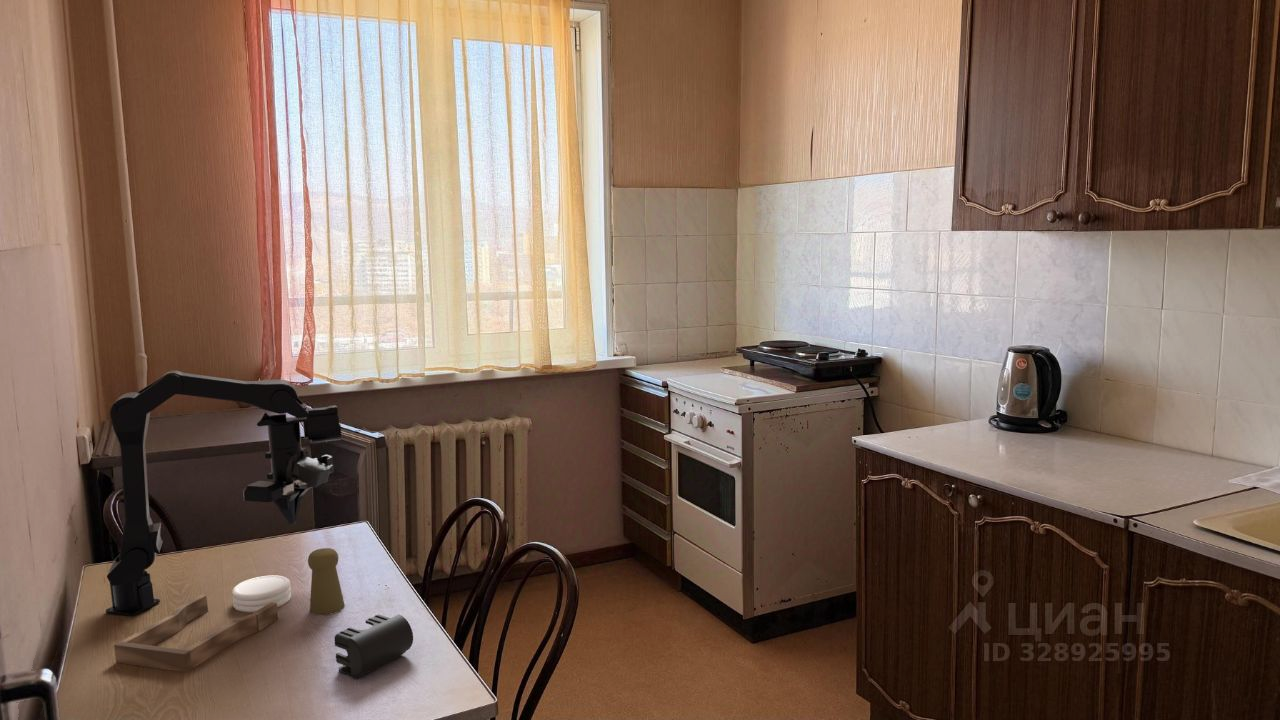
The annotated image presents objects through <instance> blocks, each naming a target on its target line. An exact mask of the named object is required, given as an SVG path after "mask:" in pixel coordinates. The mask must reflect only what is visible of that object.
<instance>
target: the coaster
mask: <svg viewBox="0 0 1280 720" xmlns="http://www.w3.org/2000/svg"><path fill="white" fill-rule="evenodd" d="M291 591H292V588H291V581H290V579H289V578H287V577H286V576H283V575H276V574H274V575H272V574H271V575H262V576H257V577H253V578H250V579H249V578H248V579H246V580H243V581H241V582H239V583H238V584H236V586H234V588H232V591H231V592H232V593H231V594H232V596H233V597H232V601H233V603H232V605H233V608H234V609H235V610H236V611H239V612H242V613H254V612H256V611H258V610H259V609H261V608H263V607H264V606H266V605H268V604H269V603H271V602H273V603H277V608H279V607H281V606H283V605H285V604H287V602H289V601H290V599H291V598H292V592H291Z"/></svg>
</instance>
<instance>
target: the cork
mask: <svg viewBox="0 0 1280 720" xmlns="http://www.w3.org/2000/svg"><path fill="white" fill-rule="evenodd" d="M338 564H339V554H338V552H337V551H336V550H335V549H333V548H331V547H325V548H318V549H315V550H313V551H312V552H311V553H309V555H308V559H307V565H308V567H309V568H310V569H311V581H310V582H311V583H310V584H311V585H310V597H309V598H310V601H309V613H310V614H312V615H314V616H329V615H333V614H336V613H338V612H340V611H342V610H343V609H345V606H346V604H345V600H344V596H343V591H342V588H341V583H340V579H339V573H338V569H337V565H338Z"/></svg>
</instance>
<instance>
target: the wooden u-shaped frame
mask: <svg viewBox="0 0 1280 720" xmlns="http://www.w3.org/2000/svg"><path fill="white" fill-rule="evenodd" d="M278 610H279V609H278V607H277V603H273V602H271V603H269V604H268V605H266V606H264V607H263V608H261V609H259V610H258V611H256V612H252V613H251V614H248V615H245V616H243V617H239V618H238V619H234V620H232V621H230V622H228V623H227V624H225V625H224V626H221V627H219V628H218V629H217V630H215V631H213V632H211V633H210V634H209V635H207V636H205V637H203V638H202V639H200V640H198V641H196V642H195V643H193V644H192V645H190V646H188V647H187V648H185V649H181V648H172V647H165V646H164V647H163V646H158V644H159V643H160V642H162V641H164V640H166V639H168V638H170V637H172V636H174V635H175V634H176V633H178V632H180V631H181V630H182V629H183V628H184V627H185V626H186V624H187V623H189V622H191V621H192V620H194V619H197V618H199V617H200V616H202V615H203V614H205V613H207V612H208V611H209V607H208V597H207V595H206V594H200V595H198V596H196V597H193V598H192V599H190V600H189V601H186V602H185V603H183V604H181V605H179V606H178V607H177V608H176V609H175V610H174V611H173V612H172V613H171V614H169V615H167V616H166V617H163V618H162V619H159V620H158V621H156V622H154V623H152V624H150V625H148V626H147V627H144V628H143V629H141V630H139V631H137V632H135V633H134V634H132V635H130V636H129V637H127V638H124V639H123V640H121V641H119V642H117V643H114V644H113V647H114V649H113V650H114V656H115V663H116V664H117V663H118V664H125V665H130V666H131V665H132V666H138V667H139V666H140V667H146V668H153V669H161V670H168V671H175V672H180V673H181V672H183V673H188V672H189V671H191V670H193V669H194V668H196V667H197V666H198V665H200V664H202V663H204V662H206V661H207V660H208V659H210V658H212V657H213V656H215V655H217V654H218V653H220V652H221V651H223V650H225V649H226V648H228V647H229V646H230V645H232V644H234V643H235V642H238V640H240V639H243V638H245V637H249V636H251V635H253V634H256V633H258V632H260V631H262V630H263V629H265V628H266V627H268V626H270V625H271V624H273V623H274V622H276V621H277V620H279V611H278Z"/></svg>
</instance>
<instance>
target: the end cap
mask: <svg viewBox="0 0 1280 720" xmlns="http://www.w3.org/2000/svg"><path fill="white" fill-rule="evenodd" d="M365 624H367V625H371V626H372V627H370V628H369V627H368V628H366V629H356V628H354V627H347V629H344V630H341V631H340V632H338V633H336V634H335V635H334V646H335V647H336V648H340V649H342V650H345V652H346V653H347V655H345V654H343V653H340V652H336V653H335V661H336V663H337V664H340V665H341V666H339V667H338V673H340V674H342V675H344V676H347V677H350V678H352V679H359V678H361V677H362V676H364V675H366V674H368V673H370V672H372V671H373V670H375V669H378V668H380V667H381V666H382V667H383V666H384V665H385V664H388V663H389V662H391V661H393V660H395V659H396V658H399V657H400V656H402V655H403V654H405V653H406V652H407V651H409V650H411V647H412V645H413V643H414V634H413V633H414V632H413V629H412V627H411V624H410V623H409V621H408V620H407V619H406V618H405V616H403V615H401V614H396V615H394V616H392V617H388V616H385V615H381V614H375V615H374V616H372V617H369V618H368V619H366V620H365Z"/></svg>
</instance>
